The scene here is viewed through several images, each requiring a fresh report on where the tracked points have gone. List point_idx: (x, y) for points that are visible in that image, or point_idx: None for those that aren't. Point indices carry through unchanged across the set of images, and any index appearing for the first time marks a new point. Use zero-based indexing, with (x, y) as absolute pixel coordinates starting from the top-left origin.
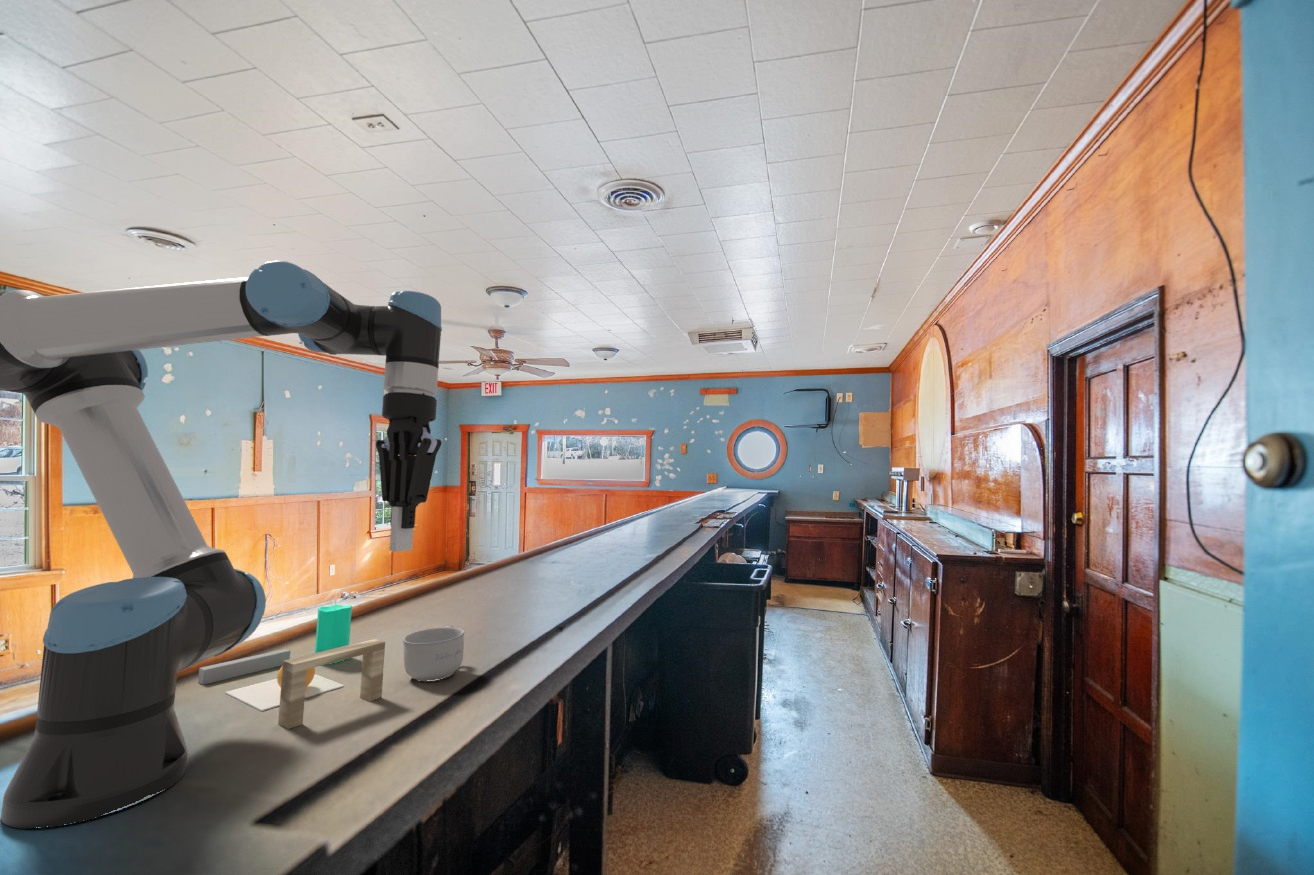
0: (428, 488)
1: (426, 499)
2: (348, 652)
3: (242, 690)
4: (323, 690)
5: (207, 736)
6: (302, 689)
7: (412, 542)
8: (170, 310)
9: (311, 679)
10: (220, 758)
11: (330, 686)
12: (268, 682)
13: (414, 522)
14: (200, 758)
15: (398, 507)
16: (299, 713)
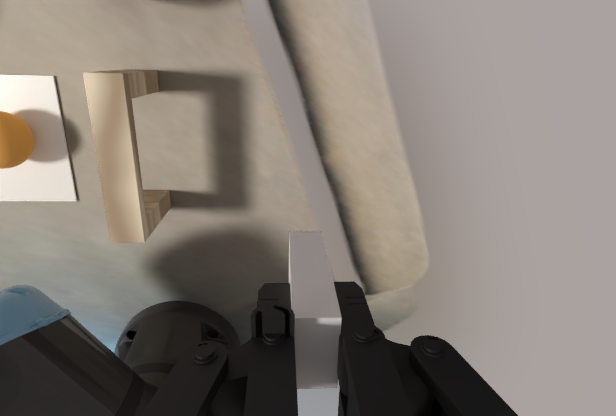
0: (492, 393)
1: (451, 346)
2: (133, 151)
3: None
4: (54, 111)
5: (118, 265)
6: (155, 210)
7: (323, 241)
8: None
9: (24, 123)
10: (194, 277)
11: (41, 93)
12: None
13: (362, 294)
14: (177, 287)
15: (336, 385)
16: (165, 200)
